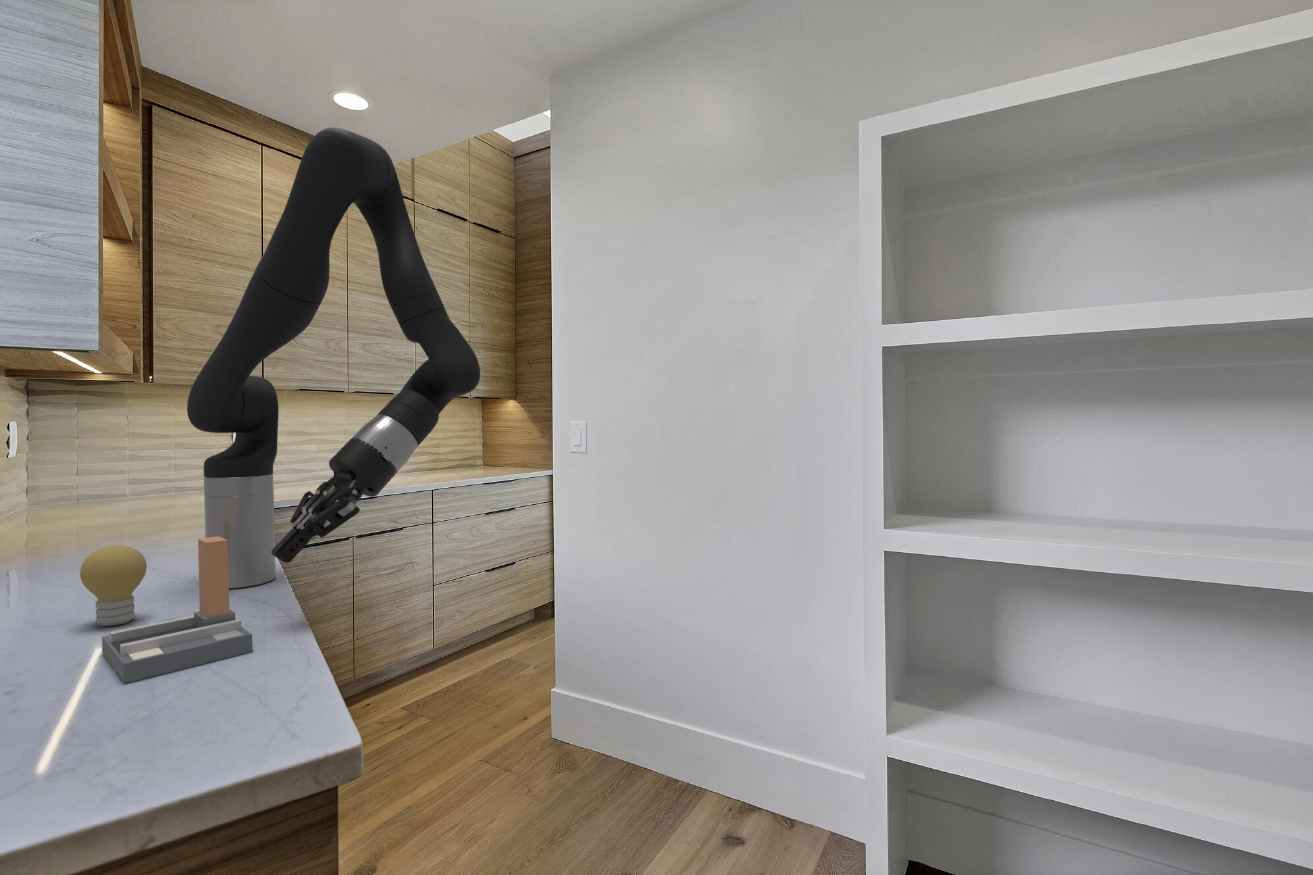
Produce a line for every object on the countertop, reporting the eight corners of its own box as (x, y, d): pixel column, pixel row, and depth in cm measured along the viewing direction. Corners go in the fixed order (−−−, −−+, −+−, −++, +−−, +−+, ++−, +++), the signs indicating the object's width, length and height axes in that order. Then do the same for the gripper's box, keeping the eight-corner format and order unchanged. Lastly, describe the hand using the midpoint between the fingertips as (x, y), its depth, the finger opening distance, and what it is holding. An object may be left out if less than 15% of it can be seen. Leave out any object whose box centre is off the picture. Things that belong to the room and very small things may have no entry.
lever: (194, 625, 71) (192, 539, 71) (224, 618, 74) (222, 535, 73) (204, 632, 69) (201, 543, 68) (235, 625, 71) (233, 539, 71)
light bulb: (88, 635, 74) (85, 553, 74) (76, 625, 78) (73, 547, 78) (154, 621, 79) (152, 544, 79) (140, 612, 83) (138, 539, 83)
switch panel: (102, 654, 68) (101, 627, 68) (220, 628, 77) (219, 604, 76) (123, 683, 60) (123, 653, 60) (252, 651, 69) (251, 625, 69)
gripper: (334, 435, 87) (235, 534, 78) (378, 436, 79) (273, 546, 70) (372, 470, 91) (283, 568, 82) (418, 474, 83) (324, 583, 74)
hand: (279, 558), depth 76 cm, fingers closed
